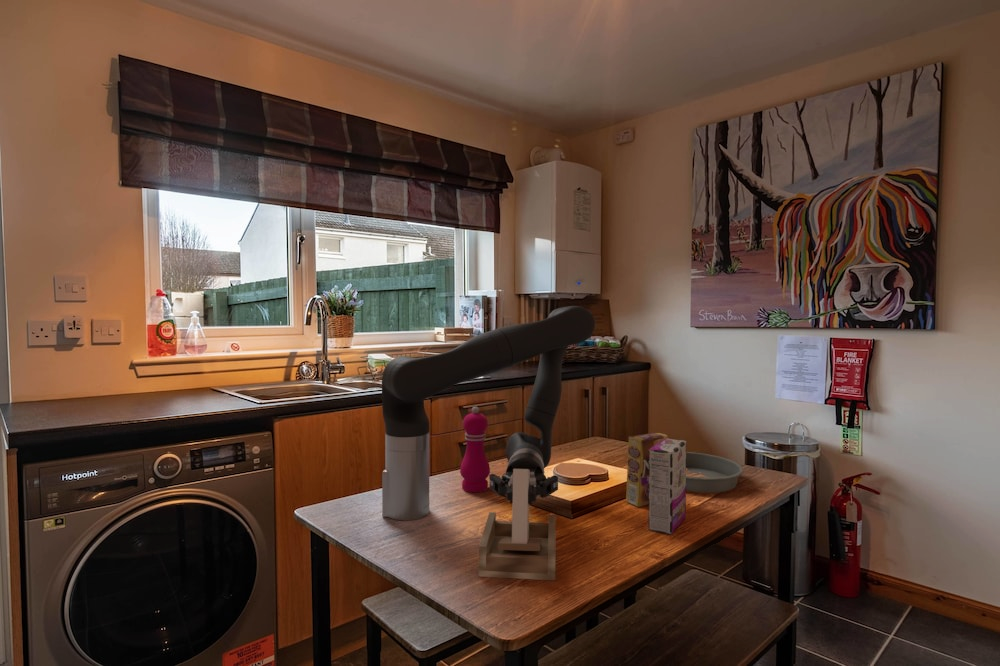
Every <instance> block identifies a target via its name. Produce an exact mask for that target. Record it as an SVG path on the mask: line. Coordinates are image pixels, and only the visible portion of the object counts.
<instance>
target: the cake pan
mask: <svg viewBox="0 0 1000 666" xmlns="http://www.w3.org/2000/svg"><path fill="white" fill-rule="evenodd" d="M686 468H687V469H688V470H687V471H690V472H689V473H691V474H692V473H697V474H694V475H699V474H702V475H704V476H706V477H709V478H705V477H690V476H686V492H688V491H691V492H690V493H698V492H700V493H699V494H701V493H702V494H710V493H711V494H712V493H713V494H714V493H715V494H717V493H724V492H728V491H731V490H734V489H735V488H736V487H737V484H738V480H739V476H741V475H742V474H744V472H745V469H744V467H743V466H742V465H741V464H739V463H738V462H736V461H734V460H732V459H729V458H725V457H722V456H718V455H714V454H707V453H700V452H695V451H693V452H691V451H690V452H689V451H686ZM699 472H701V473H699Z"/></svg>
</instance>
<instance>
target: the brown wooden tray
mask: <svg viewBox="0 0 1000 666" xmlns="http://www.w3.org/2000/svg"><path fill="white" fill-rule="evenodd" d="M496 513H497V512H493V511H491V512H490V511H489V512H488V516H487V519H486V521H485V525H484V527H483V531H482V535H481V537H480V541H479V544H478V577H483V578H500V579H517V580H518V579H519V580H521V579H522V580H535V581H536V580H537V581H538V580H539V581H540V580H541V581H556V549H557V548H556V515H555V514H548V522H531V521H529V538H530V539H541V551H520V550H498V542H499V541H500V540H501V539H502V538H512V521H510V520H509V521H508V520H507V521H505V520H497V519H496V518H497V517H496V515H497V514H496Z"/></svg>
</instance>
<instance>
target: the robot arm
mask: <svg viewBox="0 0 1000 666" xmlns="http://www.w3.org/2000/svg"><path fill="white" fill-rule="evenodd" d="M595 328H596V319H595V317H594V315H593V313H592V312H591V311H589V310H588V309H587V308H585V307H583V306H579V305H570V306H569V305H568V306H562V307H558V308H556V309H553V310H552V311H551V312H550V313H549V315H548V316H547V318H544V319H541V320H537V321H529V322H525V323H524V322H523V323H518V324H513V325H512V324H511V325H507V326H503V327H499V328H494V329H492V330H488V331H485V332H483V333H480V334H479V333H478V334H477V335H475V336H473V337H471V338H469V339H468V340H466V341H464V342H462V343H461V344H459V345H458V346H457V347H455V348H452V349H451V350H448V351H445V352H441V353H438V354H433V355H430V356H424V357H412V356H407V355H402V356H401V355H400V356H397V357H394V358H392V359H390V361H389V362H387V363H386V365H385V367H384V369H383V372H382V376H381V377H382V378H381V401H382V402H381V403H382V410H381V411H382V417H383V422H384V429H385V430H384V432H385V433H384V435H385V439H384V441H385V442H384V443H385V445H384V446H385V456H384V458H385V461H384V462H385V464H384V465H385V469H384V470H383V471H382V474H381V475H382V476H381V481H382V486H381V487H382V490H381V491H382V494H381V497H382V498H381V499H382V501H381V503H382V510H381V512H382V517H387V518H390V519H393V520H396V521H398V520H399V521H410V520H417V519H420V518H423V517H425V516H427V515H428V514H429V513H430V420H429V417H428V415H427V412H426V408H425V400H426V399H428V398H430V397H433V396H435V395H436V394H438V393H440V392H442V391H445V390H447V389H449V388H451V387H453V386H456V385H458V384H461V383H464V382H467V381H471V380H474V379H478V378H481V377H485V376H488V375H491V374H495V373H498V372H500V371H503V370H506V369H509V368H511V367H514V366H516V365H518V364H521V363H524V362H526V361H529V360H531V359H533V358H535V357H538V356H540V357H539V361H538V362H539V363H538V367H537V371H536V372H537V373H536V376H535V380H534V383H533V388H532V390H531V393H530V396H529V400H528V403H527V405H526V408H525V412H524V418H523V419H524V421H525V422H526V423H527V424H529V425H531V426H533V427H534V428H536V429H537V430H538V431H539V433H540V438H539V437H537V436H533V435H531V434H528V433H525V432H522V431H521V432H520V431H517V432H514V433H513V434H511V435H510V436H509V438H508V440H507V442H506V445H505V455H506V459H507V461H508V463H507V466H506V470H505V473H503V474H502V475H501V476H500V475H497V474H495V473H491V474H489V475H488V477H489V479H488V480H489V481H488V488H489V489H490V490H491V491H492V492H494V494H496V495H497V496H499V497H504V496H505V495H506V501H507V502H508V501H509V504H513V469H529V470H530V478H529V489H528V504H529V505H533V502H536V501H537V497H538V496H539V497H540V498H547V497H549V496H550V495H552V494H554V493H555V492H557V491H558V490H559V476H558V475H551V476H547V477H546V475H545V469H546V468H547V467H548V466H549V464H550V461H551V457H552V437H553V436H552V433H553V427H554V422H555V419H556V415H557V412H558V409H559V405H560V402H561V398H562V368H563V367H562V366H563V365H562V364H563V360H564V356H565V353H566V351H567V349H568V347H569V346H574V345H580V344H582V343H585V342H586V341H588V339H590V338H591V336H592V335H593V333H594V332H595Z"/></svg>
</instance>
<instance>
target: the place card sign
mask: <svg viewBox="0 0 1000 666" xmlns="http://www.w3.org/2000/svg"><path fill="white" fill-rule="evenodd" d="M529 478H530V470H529V469H513V503H512V506H511V507H512V508H511V509H512V510H511V511H512V512H511V513H512V514H511V516H512V517H511V519H512V520H511V522H512V538H502V539H501V540H500V541H499V542H498V550H520V551H541V539H530V538H529V522H530V504H528V489H529Z"/></svg>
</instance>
